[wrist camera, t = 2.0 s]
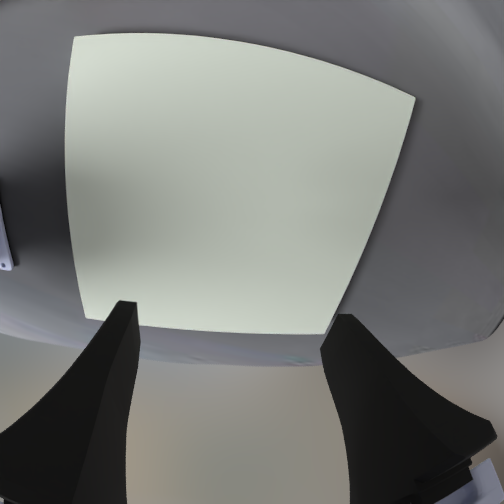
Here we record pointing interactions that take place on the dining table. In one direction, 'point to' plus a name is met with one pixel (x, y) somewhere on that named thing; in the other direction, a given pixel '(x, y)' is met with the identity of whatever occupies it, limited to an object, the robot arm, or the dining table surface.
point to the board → (222, 180)
